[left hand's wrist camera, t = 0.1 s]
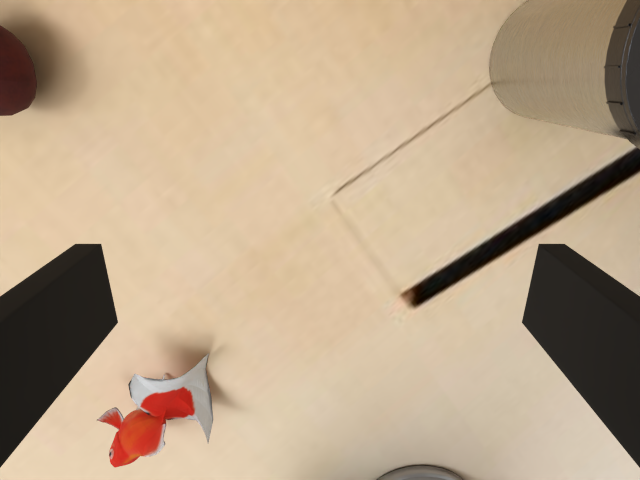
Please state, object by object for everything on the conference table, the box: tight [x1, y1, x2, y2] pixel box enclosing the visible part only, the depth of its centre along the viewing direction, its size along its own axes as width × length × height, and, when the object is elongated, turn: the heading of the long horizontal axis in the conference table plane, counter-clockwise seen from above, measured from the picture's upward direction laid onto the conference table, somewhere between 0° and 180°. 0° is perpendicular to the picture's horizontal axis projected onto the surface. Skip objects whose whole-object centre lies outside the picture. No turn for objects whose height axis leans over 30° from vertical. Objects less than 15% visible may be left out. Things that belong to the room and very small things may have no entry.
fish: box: [98, 353, 213, 467], centre depth 45 cm, size 11×16×10 cm
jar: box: [490, 0, 627, 139], centre depth 28 cm, size 10×10×18 cm
